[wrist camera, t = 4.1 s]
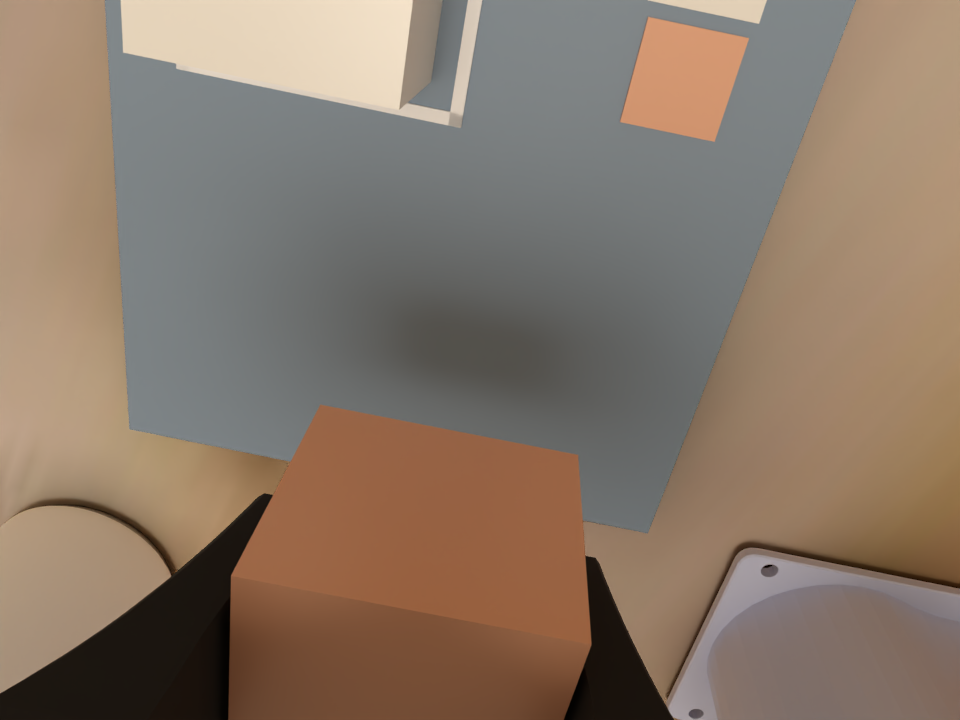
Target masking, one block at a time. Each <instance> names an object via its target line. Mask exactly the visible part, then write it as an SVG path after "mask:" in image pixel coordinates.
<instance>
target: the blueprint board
mask: <svg viewBox="0 0 960 720" xmlns="http://www.w3.org/2000/svg"><path fill="white" fill-rule="evenodd" d="M855 2H856V0H443V1H442V8H441V15H440V22H439V29H438V36H437V43H436V50H435V57H434V64H433V71H432V78H431V82H430V83H429V84H428V85H427V86H426V87H425V88H423V89H422V90H421V91H420V92H419V93H418V94H417V95H416V96H414V97H413V98H412V99H411V100H410V101H409V102H408V103H406V104H405V105H404V106H403V107H402V108H401V109H400V110H396V109H392V108H387V107H382V106H377V105H372V104H368V103H363V102H358V101H353V100H348V99H344V98H339V97H334V96H329V95H325V94H320V93H315V92H310V91H305V90H301V89H296V88H291V87H286V86H281V85H277V84H272V83H267V82H262V81H257V80H253V79H248V78H243V77H238V76H233V75H229V74H224V73H219V72H214V71H209V70H205V69H200V68H195V67H190V66H185V65H181V64H176V63H171V62H166V61H161V60H157V59H152V58H147V57H142V56H137V55H133V54H128V53H123V39H122V18H121V0H105V11H106V28H107V46H108V63H109V81H110V98H111V115H112V133H113V150H114V168H115V185H116V202H117V220H118V237H119V254H120V272H121V289H122V307H123V324H124V341H125V359H126V376H127V394H128V411H129V428H130V429H131V430H136V431H141V432H146V433H151V434H156V435H161V436H166V437H171V438H176V439H181V440H186V441H191V442H196V443H201V444H206V445H211V446H216V447H221V448H226V449H231V450H236V451H241V452H246V453H251V454H256V455H261V456H266V457H271V458H276V459H281V460H285V461H290V462H291V460H292V458H293V456H294V454H295V452H296V450H297V448H298V446H299V445H300V443H301V441H302V439H303V437H304V435H305V433H306V431H307V429H308V427H309V425H310V423H311V422H312V420H313V418H314V416H315V414H316V412H317V410H318V408H319V406H320V405H325V406H330V407H335V408H340V409H346V410H351V411H356V412H361V413H366V414H371V415H376V416H381V417H387V418H392V419H397V420H402V421H407V422H412V423H417V424H422V425H428V426H433V427H438V428H443V429H448V430H453V431H458V432H463V433H469V434H474V435H479V436H484V437H489V438H494V439H499V440H504V441H510V442H515V443H520V444H525V445H530V446H535V447H540V448H545V449H551V450H556V451H561V452H566V453H571V454H576V455H578V460H579V475H580V489H581V503H582V517H583V520H584V521H589V522H594V523H599V524H604V525H609V526H614V527H619V528H624V529H629V530H634V531H639V532H644V533H648V532H649V529H650V526H651V524H652V521H653V519H654V516H655V514H656V511H657V508H658V506H659V503H660V501H661V498H662V496H663V493H664V491H665V488H666V485H667V483H668V480H669V478H670V475H671V473H672V470H673V468H674V465H675V462H676V460H677V457H678V455H679V452H680V450H681V447H682V444H683V442H684V439H685V437H686V434H687V432H688V429H689V427H690V424H691V421H692V419H693V416H694V414H695V411H696V409H697V406H698V404H699V401H700V398H701V396H702V393H703V391H704V388H705V386H706V383H707V380H708V378H709V375H710V373H711V370H712V368H713V365H714V363H715V360H716V357H717V355H718V352H719V350H720V347H721V345H722V342H723V340H724V337H725V334H726V332H727V329H728V327H729V324H730V322H731V319H732V316H733V314H734V311H735V309H736V306H737V304H738V301H739V299H740V296H741V293H742V291H743V288H744V286H745V283H746V281H747V278H748V276H749V273H750V270H751V268H752V265H753V263H754V260H755V258H756V255H757V252H758V250H759V247H760V245H761V242H762V240H763V237H764V235H765V232H766V229H767V227H768V224H769V222H770V219H771V217H772V214H773V212H774V209H775V206H776V204H777V201H778V199H779V196H780V194H781V191H782V188H783V186H784V183H785V181H786V178H787V176H788V173H789V171H790V168H791V165H792V163H793V160H794V158H795V155H796V153H797V150H798V148H799V145H800V142H801V140H802V137H803V135H804V132H805V130H806V127H807V124H808V122H809V119H810V117H811V114H812V112H813V109H814V107H815V104H816V101H817V99H818V96H819V94H820V91H821V89H822V86H823V84H824V81H825V78H826V76H827V73H828V71H829V68H830V66H831V63H832V61H833V58H834V55H835V53H836V50H837V48H838V45H839V43H840V40H841V37H842V35H843V32H844V30H845V27H846V25H847V22H848V20H849V17H850V14H851V12H852V9H853V7H854V4H855Z"/></svg>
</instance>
